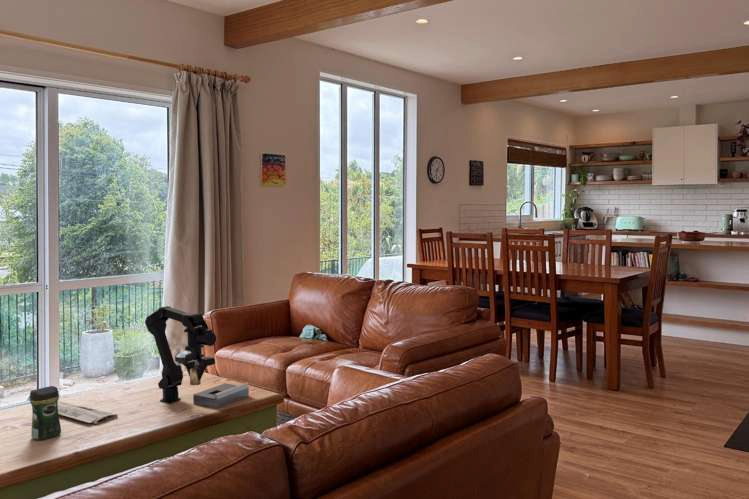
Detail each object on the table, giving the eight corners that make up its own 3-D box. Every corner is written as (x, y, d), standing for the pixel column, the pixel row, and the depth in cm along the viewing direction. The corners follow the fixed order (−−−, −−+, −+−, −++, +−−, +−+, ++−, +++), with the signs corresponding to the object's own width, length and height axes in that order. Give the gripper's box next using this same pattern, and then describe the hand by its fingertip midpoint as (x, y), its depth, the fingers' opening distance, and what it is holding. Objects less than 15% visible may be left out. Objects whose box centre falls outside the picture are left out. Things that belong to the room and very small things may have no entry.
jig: (193, 403, 279) (193, 389, 279) (225, 391, 296) (225, 378, 296) (217, 408, 272) (217, 394, 272) (248, 396, 290) (248, 383, 289)
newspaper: (117, 418, 261) (117, 409, 261) (91, 427, 250) (91, 419, 250) (62, 405, 278) (61, 397, 278) (35, 413, 267) (34, 405, 267)
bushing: (187, 384, 273) (187, 368, 273) (195, 381, 277) (195, 365, 276) (195, 385, 271) (194, 369, 270) (202, 383, 275) (202, 367, 274)
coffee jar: (54, 430, 246) (52, 383, 245) (64, 435, 241) (62, 386, 240) (28, 437, 239) (26, 388, 237) (37, 442, 234) (35, 392, 233)
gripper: (164, 344, 271) (165, 380, 272) (195, 349, 261) (196, 387, 262) (185, 339, 280) (185, 374, 281) (215, 344, 270) (216, 380, 271)
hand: (195, 379), depth 274 cm, fingers closed on bushing, 4 cm apart
